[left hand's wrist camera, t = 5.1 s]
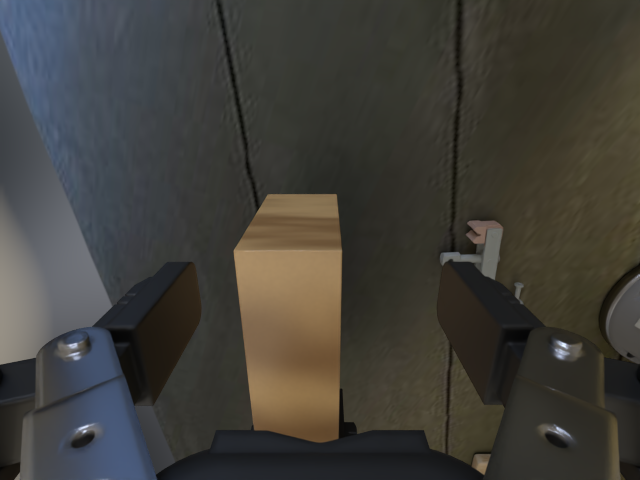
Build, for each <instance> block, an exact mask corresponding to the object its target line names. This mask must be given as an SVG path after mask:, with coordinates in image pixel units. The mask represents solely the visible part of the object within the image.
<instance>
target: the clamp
mask: <svg viewBox="0 0 640 480" xmlns="http://www.w3.org/2000/svg"><path fill="white" fill-rule="evenodd" d="M467 224H468V225H469V226H470V227H471V228H472V229H473V230H470V231H469V232H468V233H467V234H466V236H467V237H468V238H469V239H470V240H471V241H472V242H473V243H474V244H477V248H476V254H466V255H460V253H459V252H447V253H441V255H440V263H441V265H442V266H443V265H444V263H445V262H472V263H475V264H474V265H475V266H476V268H477V269H478V270H479V271H480V272H481V273H482V274H483V275H484V276H488V277H490V278H492V279H494V280H495V275H496V269H497V263H498V262H499V261H500V255H499V249H500V243H501V238H502V234H503V227H502V226H501V225H500V224H499V223H497V222H496V221H479V220H476V221H469V222H468V223H467ZM449 259H450V260H449ZM514 286H515V287H516V290H515V297H516V298H517V299H518V300H519V301H520V304H523V302H522V300H520V299H519V297H520V291H521V288H522V287H524V285H523V284H522V283H519V282H516V283H515V284H514ZM523 305H524V304H523Z"/></svg>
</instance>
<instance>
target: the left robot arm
mask: <svg viewBox="0 0 640 480" xmlns="http://www.w3.org/2000/svg"><path fill="white" fill-rule="evenodd" d="M437 316H438V320H439V323H440V325H441V327H442V329H443V330H444V332H445V334H446V336H447V338H448V340H449V341H450V343H451V345H452V347H453V349H454V351H455V352H456V354H457V356H458V358H459V360H460V361H461V363H462V365H463V367H464V369H465V371H466V372H467V374H468V376H469V378H470V380H471V382H472V383H473V385H474V387H475V389H476V391H477V392H478V394H479V396H480V398H481V400H482V402H483V403H484V405H503V406H504V407H505V410H504V414H503V417H502V420H501V423H500V426H499V429H498V433H497V436H496V439H495V442H494V445H493V449H492V452H491V455H490V458H489V461H488V465H487V468H486V471H485V474H484V475H483V474H482V473H481V472H479V471H478V470H476V469H475V468H473V467H471V466H470V465H468V464H466V463H464V462H463V461H461V460H458V459H456V458H454V457H452V456H450V455H447V454H444V453H442V452H439V451H436V450H432V449H430V448H429V445H428V442H427V439H426V436H425V433H424V430H372V431H368V432H364V433H360V434H356V435H352V436H348V437H344V438H340V439H336V440H332V441H327V442H322V443H318V442H313V441H308V440H304V439H300V438H296V437H292V436H288V435H284V434H280V433H276V432H272V431H268V430H216V433H215V436H214V439H213V442H212V445H211V448H210V449H208V450H204V451H201V452H198V453H196V454H193V455H190V456H188V457H186V458H184V459H182V460H179V461H177V462H176V463H174V464H172V465H170V466H169V467H167V468H165V469H164V470H162V471H161V472H159V473H158V474H157V475H156V474H155V471H154V468H153V465H152V462H151V458H150V455H149V452H148V449H147V446H146V442H145V439H144V436H143V433H142V429H141V426H140V423H139V420H138V417H137V414H136V410H135V407H134V406H153V405H154V403H155V402H156V400H157V398H158V396H159V394H160V393H161V391H162V389H163V387H164V385H165V384H166V382H167V380H168V378H169V376H170V375H171V373H172V371H173V369H174V367H175V366H176V364H177V362H178V360H179V358H180V357H181V355H182V353H183V351H184V349H185V348H186V346H187V344H188V342H189V340H190V339H191V337H192V335H193V333H194V331H195V330H196V328H197V326H198V324H199V321H200V317H201V300H200V293H199V287H198V280H197V273H196V268H195V265H194V263H193V262H167V263H166V264H165V265H164V266H163V267H162V268H161V269H160V270H159V271H158V272H157V273H156V274H155V275H154V276H153V277H149V278H147V279H145V280H143V281H142V282H140V283H138V284H136V285H135V286H134V287H132V288H131V289H130V290H129V291H128V292H127V293H126V294H125V296H123V297H122V298H121V299H120V300H119V301H118V302H117V305H114V306H113V307H112V308H111V309H110V310H109V311H108V312H107V313H106V314H105V315H104V316H103V317H102V318H101V319H100V320H99V321H98V322H96V323H95V324H94V325H93V326H92V327H86V328H81V329H76V330H73V331H70V332H67V333H65V334H62V335H60V336H58V337H56V338H54V339H53V340H51V341H49V342H48V343H47V344H45V345H44V346H43V347H42V348H41V349H40V351H39V352H38V354H37V356H36V358H33V359H28V360H22V361H18V362H12V363H7V364H2V365H0V480H14V479H15V478H16V476H17V475H18V474H19V473H20V480H620V473H621V474H622V475H623V476H624V478H625V479H626V480H640V364H636V363H630V362H625V361H620V360H615V359H610V358H605V357H604V356H603V354H602V352H601V350H600V349H599V348H598V347H597V346H596V345H595V344H593V343H592V342H591V341H589V340H587V339H586V338H584V337H582V336H580V335H578V334H575V333H573V332H570V331H567V330H564V329H559V328H554V327H546V326H545V325H544V324H543V323H542V322H541V321H539V320H538V319H537V318H536V317H535V316H534V315H533V314H532V313H531V312H530V311H529V310H528V309H527V308H526V307H525V306H524V305H523V304H520V301H519V300H518V299H517V298H516V297H515V296H512V293H511V292H510V291H509V290H508V289H507V288H506V287H505V286H504V285H503V284H501V283H499V282H497V281H495V280H494V279H492V278H490V277H488V276H484V275H483V274H482V273H481V272H480V271H479V270H478V269H477V268H476V266H475V265H474V264H473V263H472V262H445V263H444V265H443V268H442V273H441V280H440V287H439V294H438V301H437Z"/></svg>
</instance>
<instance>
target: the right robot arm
mask: <svg viewBox="0 0 640 480" xmlns="http://www.w3.org/2000/svg"><path fill="white" fill-rule="evenodd" d="M599 323H600V330H601V333H602V335H603V337H604V339H605V340H606V341H607V343H608V344H609V345H610V346H612V347H613V348H614V349H615V350H616V351H617V352H618V353H620V354H621V355H622V356H624V357H626V358H627V359H629V360H631V361H633V362H635V363H637V364H640V265H639V266H638V267H636V268H635V269H633V270H632V271H630V272H629V273H628V274H626V275H625V276H624V277H623V278H622V279H621V280H620V281H619V282H618V283H617V284H616V285H615V286H614V287H613V289H612V290H611V291H610V293H609V294H608V296H607V297H606V299H605V301H604V303H603V306H602V309H601V312H600V320H599ZM251 430H254V424H253V425H252V428H251ZM356 434H357V428H356V426H355V424H354V422H344V414H343V394H342V389H340V390H339V439H340V438H344V437H348V436H352V435H356Z"/></svg>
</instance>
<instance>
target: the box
mask: <svg viewBox="0 0 640 480" xmlns="http://www.w3.org/2000/svg"><path fill="white" fill-rule="evenodd" d="M234 258H235V267H236V276H237V285H238V293H239V302H240V311H241V320H242V328H243V337H244V346H245V354H246V363H247V372H248V381H249V389H250V398H251V407H252V416H253V424H254V430H268V431H272V432H276V433H280V434H284V435H288V436H292V437H296V438H300V439H304V440H308V441H313V442H318V443H322V442H327V441H332V440H336V439H339V390H340V339H341V287H342V244H341V234H340V224H339V213H338V203H337V194H268V195H267V197H266V199H265V200H264V202H263V203H262V205H261V207H260V208H259V210H258V212H257V213H256V215H255V217H254V218H253V220H252V222H251V223H250V225H249V227H248V228H247V230H246V231H245V233H244V235H243V236H242V238H241V240H240V241H239V243H238V245H237V246H236V248H235V250H234Z"/></svg>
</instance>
